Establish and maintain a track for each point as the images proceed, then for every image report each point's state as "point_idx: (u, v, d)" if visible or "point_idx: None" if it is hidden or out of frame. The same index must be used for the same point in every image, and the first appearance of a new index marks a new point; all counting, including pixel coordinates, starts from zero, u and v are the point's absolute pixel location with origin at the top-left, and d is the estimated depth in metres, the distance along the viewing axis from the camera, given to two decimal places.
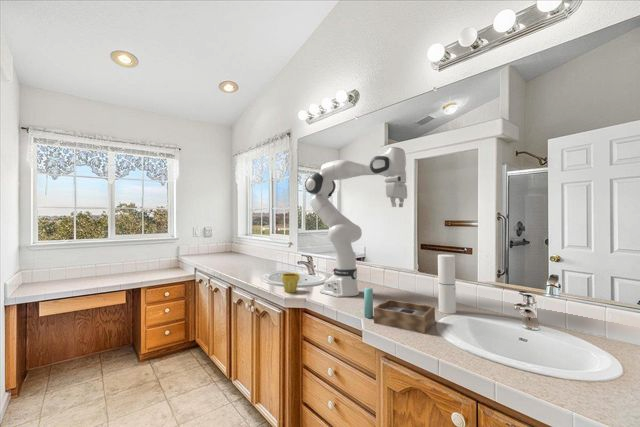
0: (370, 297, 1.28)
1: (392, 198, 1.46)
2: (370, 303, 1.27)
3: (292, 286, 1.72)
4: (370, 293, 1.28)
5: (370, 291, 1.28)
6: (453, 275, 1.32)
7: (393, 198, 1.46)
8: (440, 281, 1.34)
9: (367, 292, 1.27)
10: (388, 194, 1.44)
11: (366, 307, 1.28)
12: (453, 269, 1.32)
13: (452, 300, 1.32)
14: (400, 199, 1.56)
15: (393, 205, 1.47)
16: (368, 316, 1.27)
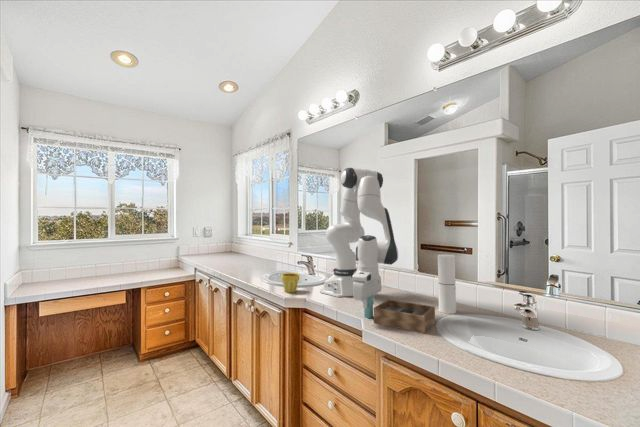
0: (370, 297, 1.28)
1: (363, 298, 1.26)
2: (370, 303, 1.27)
3: (292, 286, 1.72)
4: None
5: None
6: (453, 275, 1.32)
7: (365, 299, 1.25)
8: (440, 281, 1.34)
9: None
10: (355, 297, 1.21)
11: None
12: (453, 269, 1.32)
13: (452, 300, 1.32)
14: None
15: (365, 306, 1.27)
16: (368, 316, 1.27)
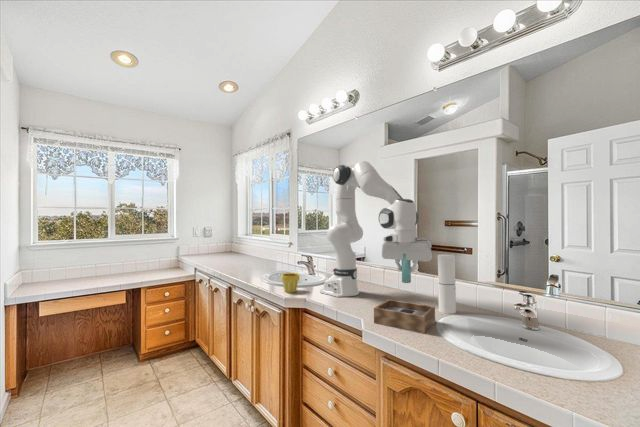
0: (402, 261, 1.24)
1: None
2: (402, 267, 1.24)
3: (292, 286, 1.72)
4: None
5: None
6: (453, 275, 1.32)
7: None
8: (440, 281, 1.34)
9: None
10: None
11: None
12: (453, 269, 1.32)
13: (452, 300, 1.32)
14: None
15: None
16: (402, 280, 1.25)
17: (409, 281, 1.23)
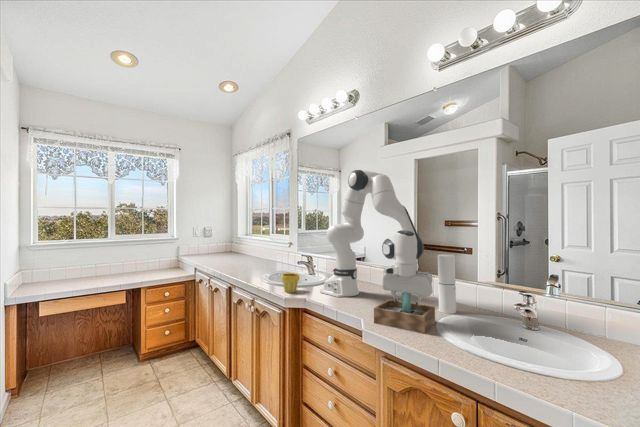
0: (403, 299, 1.24)
1: None
2: (402, 305, 1.24)
3: (292, 286, 1.72)
4: (402, 295, 1.24)
5: (402, 293, 1.24)
6: (453, 275, 1.32)
7: None
8: (440, 281, 1.34)
9: (402, 293, 1.25)
10: None
11: None
12: (453, 269, 1.32)
13: (452, 300, 1.32)
14: None
15: None
16: None
17: None
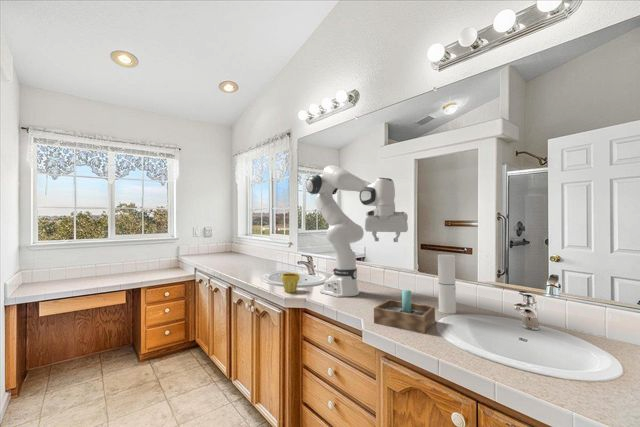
0: (403, 299, 1.24)
1: None
2: (402, 305, 1.24)
3: (292, 286, 1.72)
4: (402, 295, 1.24)
5: (402, 293, 1.24)
6: (453, 275, 1.32)
7: None
8: (440, 281, 1.34)
9: (402, 293, 1.25)
10: None
11: None
12: (453, 269, 1.32)
13: (452, 300, 1.32)
14: None
15: None
16: None
17: None
